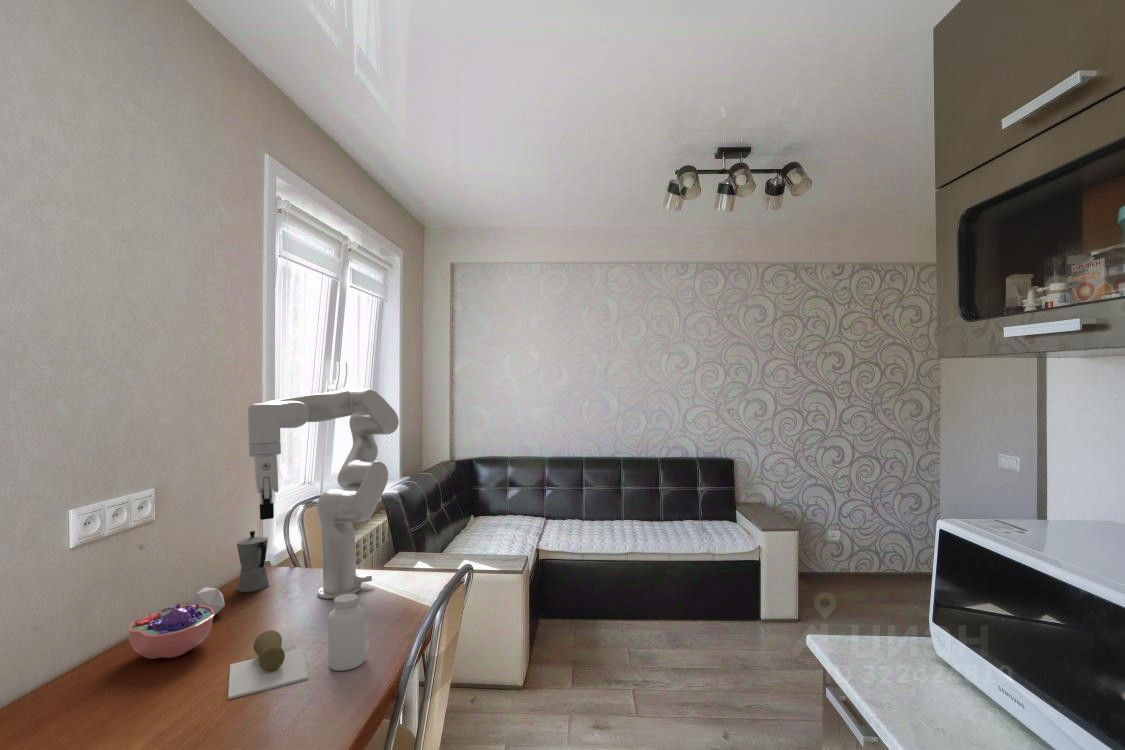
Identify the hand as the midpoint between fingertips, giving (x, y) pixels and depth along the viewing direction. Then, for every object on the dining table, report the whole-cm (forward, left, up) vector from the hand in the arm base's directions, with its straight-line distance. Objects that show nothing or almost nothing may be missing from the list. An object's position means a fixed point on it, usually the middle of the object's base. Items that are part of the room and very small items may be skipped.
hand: (266, 518), depth 152 cm
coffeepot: (+3, -37, -29) cm, 47 cm away
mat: (+1, +27, -29) cm, 40 cm away
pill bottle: (-15, +32, -29) cm, 46 cm away
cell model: (+21, +3, -29) cm, 36 cm away
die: (+15, -18, -29) cm, 38 cm away
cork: (+1, +18, -26) cm, 32 cm away
